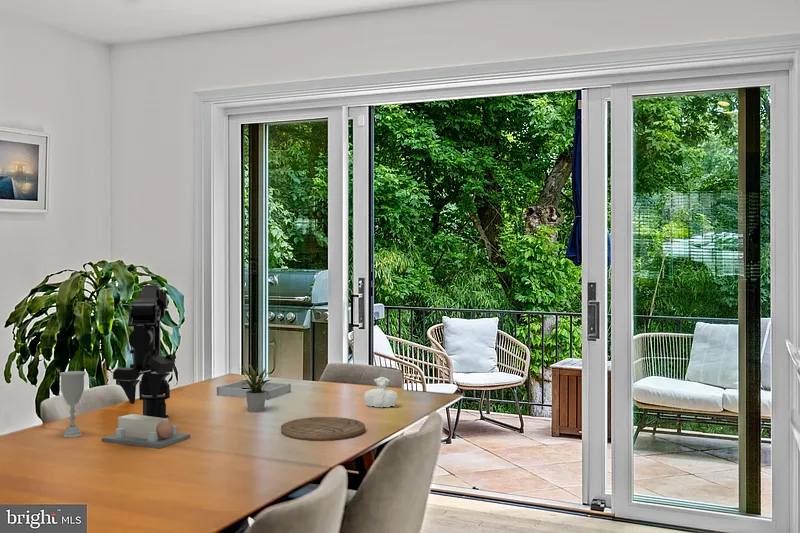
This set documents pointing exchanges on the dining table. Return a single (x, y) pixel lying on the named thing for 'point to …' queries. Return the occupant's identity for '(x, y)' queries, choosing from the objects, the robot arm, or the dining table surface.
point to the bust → (381, 394)
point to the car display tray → (236, 390)
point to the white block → (145, 426)
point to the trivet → (322, 428)
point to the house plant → (255, 390)
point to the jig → (149, 442)
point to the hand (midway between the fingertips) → (143, 401)
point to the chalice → (72, 396)
